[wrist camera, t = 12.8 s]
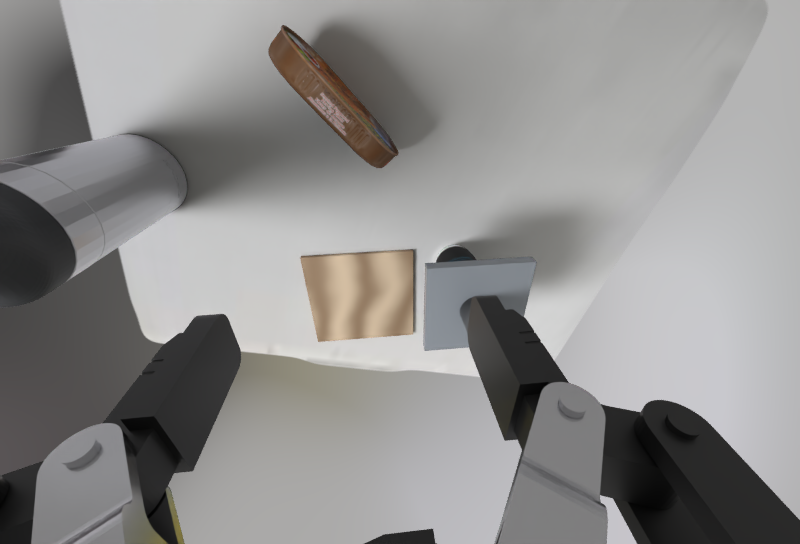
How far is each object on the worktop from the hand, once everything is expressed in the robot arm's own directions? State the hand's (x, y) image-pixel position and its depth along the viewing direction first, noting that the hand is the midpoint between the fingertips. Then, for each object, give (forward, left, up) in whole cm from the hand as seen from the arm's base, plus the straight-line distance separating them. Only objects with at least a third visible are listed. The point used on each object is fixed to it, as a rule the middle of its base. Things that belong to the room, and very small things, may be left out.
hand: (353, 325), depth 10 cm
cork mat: (-2, -22, -32) cm, 39 cm away
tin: (-2, +5, -32) cm, 33 cm away
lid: (+12, -16, -21) cm, 29 cm away
